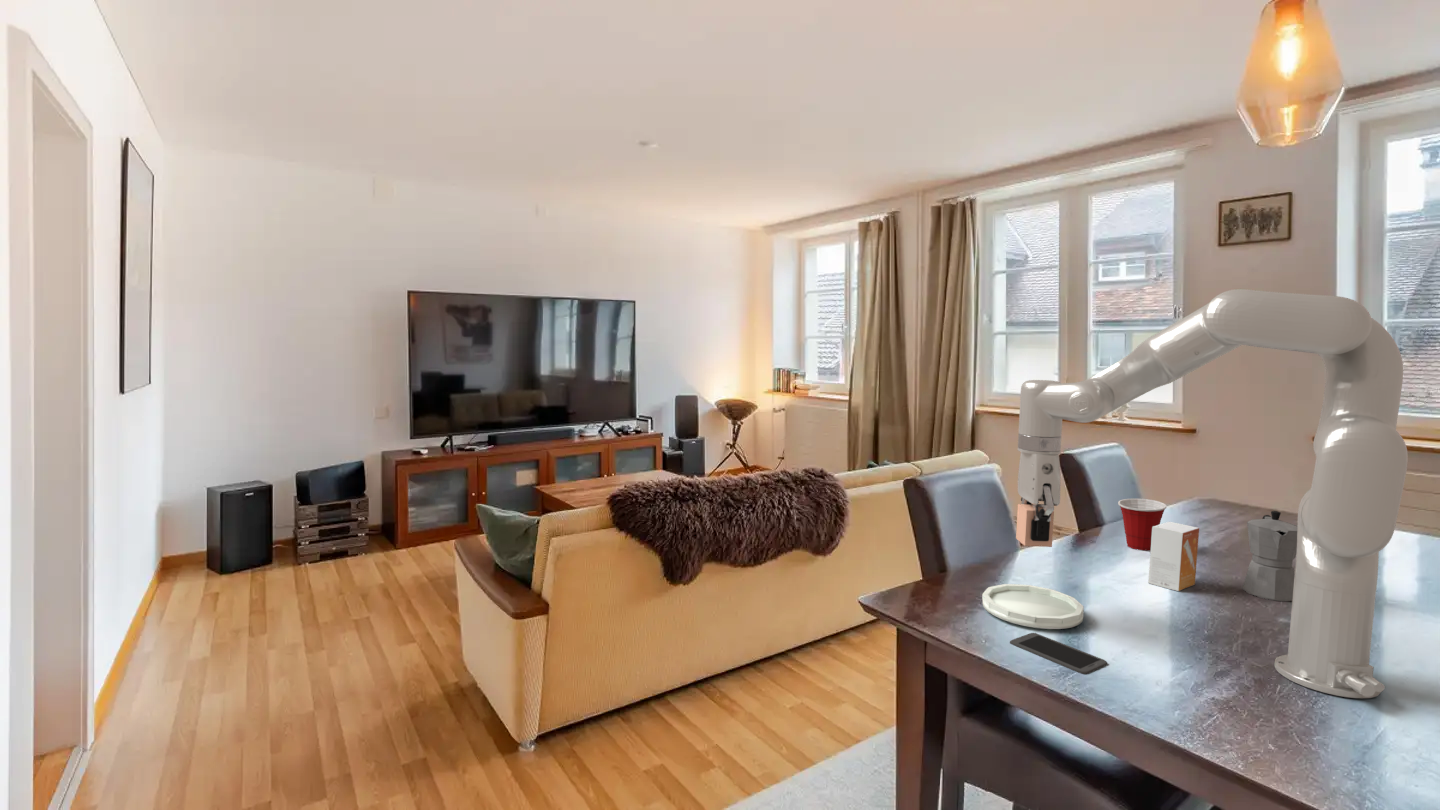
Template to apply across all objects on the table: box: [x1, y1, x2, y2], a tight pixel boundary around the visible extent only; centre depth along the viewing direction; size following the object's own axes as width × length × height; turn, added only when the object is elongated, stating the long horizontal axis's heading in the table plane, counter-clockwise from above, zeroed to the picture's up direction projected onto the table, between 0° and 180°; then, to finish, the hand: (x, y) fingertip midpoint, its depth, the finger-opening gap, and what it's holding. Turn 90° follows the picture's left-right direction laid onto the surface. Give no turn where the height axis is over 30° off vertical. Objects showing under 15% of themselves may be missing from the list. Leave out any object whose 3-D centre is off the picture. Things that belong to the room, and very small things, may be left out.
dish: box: [981, 583, 1085, 630], centre depth 134 cm, size 18×18×3 cm
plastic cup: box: [1117, 498, 1167, 551], centre depth 177 cm, size 11×11×12 cm
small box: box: [1147, 521, 1200, 592], centre depth 150 cm, size 8×6×13 cm
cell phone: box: [1009, 632, 1108, 675], centre depth 117 cm, size 7×14×1 cm, turn 32°
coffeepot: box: [1242, 510, 1298, 602], centre depth 145 cm, size 15×9×18 cm, turn 151°
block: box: [1015, 503, 1055, 548], centre depth 133 cm, size 5×5×7 cm
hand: (1034, 535), depth 133 cm, fingers closed on block, 5 cm apart
